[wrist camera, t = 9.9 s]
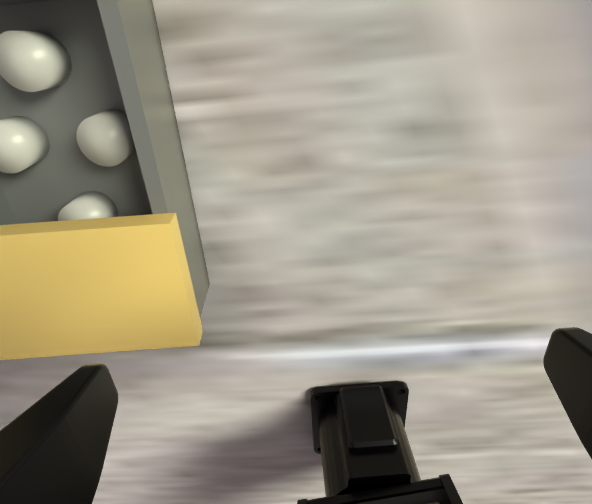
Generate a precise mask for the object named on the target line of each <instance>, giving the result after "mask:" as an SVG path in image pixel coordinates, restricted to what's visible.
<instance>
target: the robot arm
mask: <svg viewBox="0 0 592 504" xmlns="http://www.w3.org/2000/svg"><path fill="white" fill-rule="evenodd" d="M543 363H544V368H545V371H546V373H547V375H548V377H549V379H550V381H551V383H552V385H553V387H554V389H555V391H556V393H557V395H558V397H559V399H560V401H561V403H562V405H563V407H564V409H565V411H566V413H567V415H568V417H569V419H570V421H571V423H572V425H573V427H574V429H575V431H576V433H577V435H578V436H579V438H580V440H581V442H582V444H583V445H584V447H585V449H586V450H587V452H588V454H589V455H590V457H591V459H592V334H591V333H589V332H587V331H584V330H582V329H580V328H575V327H572V328H559V329H556V330H555V331H554V332H553V333H552V335H551V338H550V341H549V344H548V347H547V349H546V352H545V355H544V362H543ZM408 394H409V389H408V387H407V384H406V383H404V382H390V383H376V384H363V385H349V386H336V387H323V388H315V389H313V390H312V391H311V410H312V427H313V444H314V451H315V452H316V453H318V454H321V456H322V465H323V475H324V485H325V494H326V497H323V498H318V499H312V500H307V499H301V500H298V502H297V504H463V503H462V501H461V498H460V496H459V494H458V492H457V490H456V488H455V486H454V484H453V482H452V480H451V477H450V475H449V474H444V475H439V477H438V478H432V479H426V480H421V479H420V476H419V473H418V470H417V466H416V463H415V460H414V457H413V454H412V451H411V448H410V445H409V441H408V438H407V435H406V432H405V429H404V427H405V419H406V410H407V402H408ZM317 395H319V396H317ZM117 405H118V392H117V389H116V387H115V385H114V382H113V380H112V377H111V375H110V373H109V370H108V368H107V367H106V366H105V365H103V364H95V365H85V366H82V367H80V368H79V369H78V370H76V371H75V372H74V373H73V374H71V375H70V376H69V377H67V378H66V379H65V380H64V381H62V382H61V383H60V384H59V385H57V386H56V387H55V388H54V389H52V390H51V391H50V392H49V393H47V394H46V395H45V396H44V397H42V398H41V399H40V400H38V401H37V402H36V403H35V404H33V405H32V406H31V407H30V408H28V409H27V410H26V411H25V412H23V413H22V414H21V415H20V416H18V417H17V418H16V419H15V420H13V421H12V422H11V423H10V424H8V425H7V426H6V427H4V428H3V429H2V430H1V431H0V504H92V501H93V498H94V496H95V492H96V489H97V486H98V483H99V480H100V476H101V472H102V468H103V464H104V460H105V456H106V452H107V447H108V443H109V439H110V435H111V430H112V426H113V422H114V418H115V413H116V409H117Z"/></svg>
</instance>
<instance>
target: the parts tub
mask: <svg viewBox="0 0 592 504" xmlns="http://www.w3.org/2000/svg"><path fill="white" fill-rule="evenodd" d="M208 287H209V278H208V273H207V268H206V263H205V259H204V254H203V249H202V244H201V239H200V234H199V229H198V224H197V219H196V214H195V209H194V204H193V200H192V195H191V190H190V185H189V180H188V175H187V170H186V165H185V160H184V155H183V150H182V145H181V140H180V136H179V131H178V126H177V121H176V116H175V111H174V106H173V101H172V96H171V91H170V86H169V81H168V76H167V72H166V67H165V62H164V57H163V52H162V47H161V42H160V37H159V32H158V27H157V22H156V17H155V12H154V8H153V3H152V0H0V360H9V359H23V358H37V357H50V356H64V355H77V354H91V353H104V352H118V351H131V350H145V349H159V348H172V347H186V346H199V344H200V340H201V336H202V332H203V329H202V325H201V320H200V316H201V313H202V309H203V305H204V302H205V298H206V294H207V290H208Z"/></svg>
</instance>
